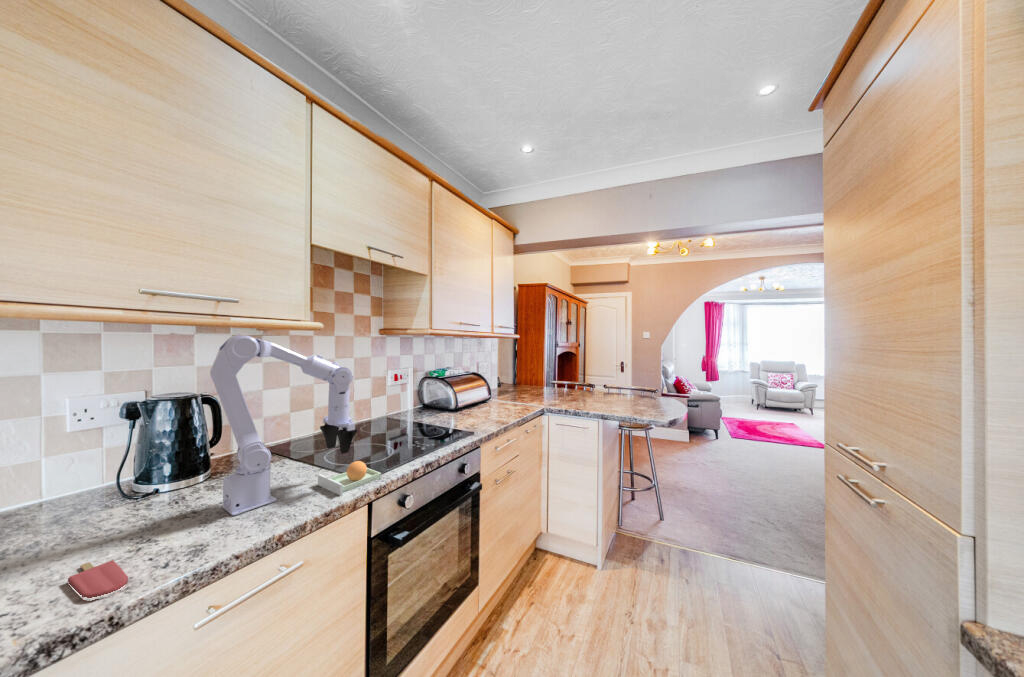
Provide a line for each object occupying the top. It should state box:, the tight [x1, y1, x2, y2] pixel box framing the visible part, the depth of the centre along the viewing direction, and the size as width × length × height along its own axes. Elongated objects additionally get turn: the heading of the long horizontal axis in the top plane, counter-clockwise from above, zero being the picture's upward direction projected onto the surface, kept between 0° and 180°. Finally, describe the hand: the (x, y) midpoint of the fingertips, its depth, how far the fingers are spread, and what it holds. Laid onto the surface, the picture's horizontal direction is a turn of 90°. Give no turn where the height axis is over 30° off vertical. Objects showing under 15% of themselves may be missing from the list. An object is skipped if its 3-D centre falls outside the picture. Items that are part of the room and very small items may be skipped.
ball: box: [346, 460, 368, 481], centre depth 102 cm, size 6×6×6 cm
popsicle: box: [67, 559, 129, 598], centre depth 60 cm, size 5×2×15 cm
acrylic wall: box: [317, 473, 344, 496], centre depth 97 cm, size 1×12×3 cm, turn 57°
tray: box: [329, 467, 382, 493], centre depth 103 cm, size 12×9×2 cm
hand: (337, 450), depth 103 cm, fingers open, 7 cm apart
